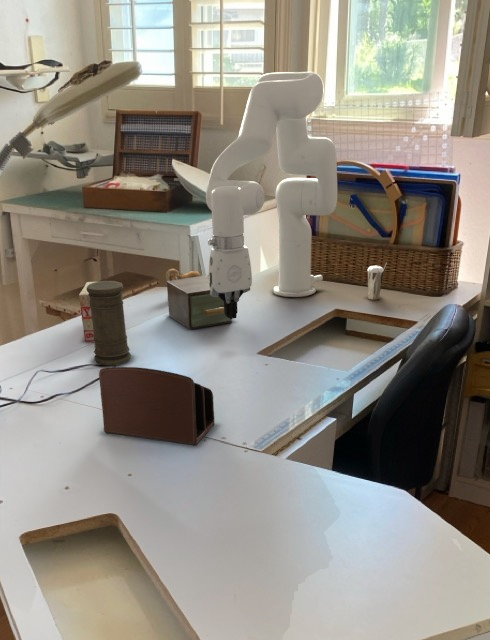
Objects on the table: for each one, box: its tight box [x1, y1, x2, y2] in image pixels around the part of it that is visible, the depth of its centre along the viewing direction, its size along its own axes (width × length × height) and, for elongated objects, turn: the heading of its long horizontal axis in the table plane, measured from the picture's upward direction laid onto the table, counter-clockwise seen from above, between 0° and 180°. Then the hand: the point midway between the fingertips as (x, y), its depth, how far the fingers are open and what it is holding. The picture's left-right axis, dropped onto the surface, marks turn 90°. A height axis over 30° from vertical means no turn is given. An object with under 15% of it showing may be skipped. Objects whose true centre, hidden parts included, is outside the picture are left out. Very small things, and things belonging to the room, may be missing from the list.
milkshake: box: [366, 262, 388, 301], centre depth 234 cm, size 4×5×10 cm
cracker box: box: [78, 281, 96, 343], centre depth 216 cm, size 21×6×12 cm, turn 179°
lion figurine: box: [165, 268, 202, 282], centre depth 243 cm, size 15×5×9 cm, turn 136°
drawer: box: [190, 292, 233, 327], centre depth 219 cm, size 18×11×8 cm, turn 25°
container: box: [87, 280, 132, 367], centre depth 193 cm, size 9×9×18 cm
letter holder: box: [98, 366, 215, 446], centre depth 158 cm, size 10×20×14 cm, turn 69°
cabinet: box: [166, 274, 233, 330], centre depth 222 cm, size 15×13×10 cm
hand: (230, 317), depth 206 cm, fingers closed
